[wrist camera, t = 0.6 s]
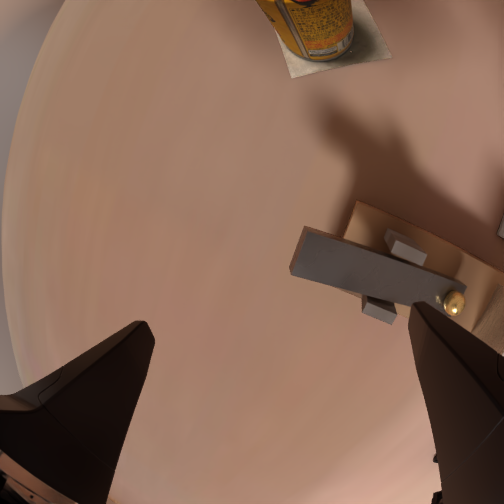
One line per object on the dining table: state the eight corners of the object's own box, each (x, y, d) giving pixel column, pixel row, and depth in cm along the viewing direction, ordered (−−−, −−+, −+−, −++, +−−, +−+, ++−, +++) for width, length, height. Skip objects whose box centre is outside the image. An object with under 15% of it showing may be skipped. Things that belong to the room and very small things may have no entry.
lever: (459, 280, 16) (478, 295, 13) (443, 309, 16) (460, 327, 14) (304, 225, 14) (312, 239, 12) (289, 266, 15) (294, 287, 13)
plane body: (534, 291, 15) (571, 324, 9) (504, 346, 18) (530, 389, 11) (356, 199, 20) (358, 208, 14) (329, 270, 22) (317, 307, 16)
